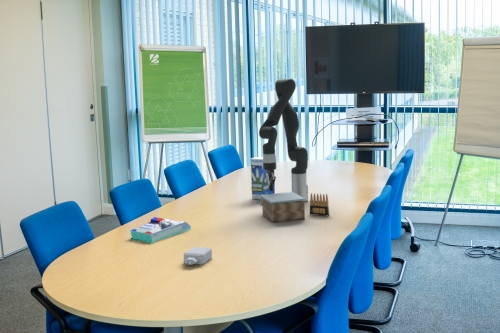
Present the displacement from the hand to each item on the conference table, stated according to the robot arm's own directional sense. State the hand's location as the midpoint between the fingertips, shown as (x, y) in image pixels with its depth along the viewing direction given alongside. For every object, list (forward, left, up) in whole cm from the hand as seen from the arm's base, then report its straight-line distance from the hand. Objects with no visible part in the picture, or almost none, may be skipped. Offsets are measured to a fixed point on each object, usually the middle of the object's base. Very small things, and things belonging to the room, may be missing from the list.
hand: (271, 190), depth 335 cm
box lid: (0, +21, -5) cm, 21 cm away
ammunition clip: (-20, +25, -11) cm, 33 cm away
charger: (+61, +79, -11) cm, 100 cm away
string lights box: (-5, -29, -11) cm, 32 cm away
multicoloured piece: (+68, +27, -12) cm, 74 cm away
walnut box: (0, +22, -11) cm, 24 cm away
